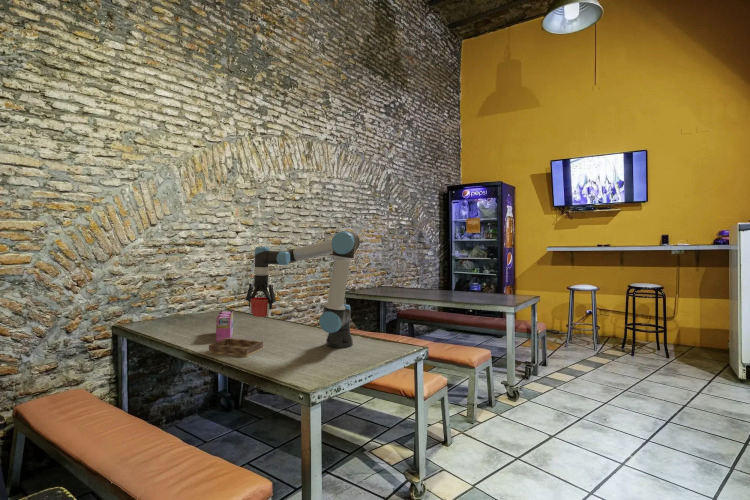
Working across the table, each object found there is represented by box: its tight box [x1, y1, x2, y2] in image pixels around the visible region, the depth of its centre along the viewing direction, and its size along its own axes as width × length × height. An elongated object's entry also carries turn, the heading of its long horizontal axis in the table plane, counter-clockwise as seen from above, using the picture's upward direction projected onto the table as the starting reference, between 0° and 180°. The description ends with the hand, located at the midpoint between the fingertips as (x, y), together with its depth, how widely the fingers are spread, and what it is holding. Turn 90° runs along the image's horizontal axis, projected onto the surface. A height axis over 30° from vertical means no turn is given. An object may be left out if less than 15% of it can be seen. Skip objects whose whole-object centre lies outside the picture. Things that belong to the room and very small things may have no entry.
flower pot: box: [251, 296, 269, 318], centre depth 233 cm, size 11×11×10 cm
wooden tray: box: [208, 337, 264, 358], centre depth 221 cm, size 22×16×4 cm
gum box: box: [215, 310, 234, 342], centre depth 251 cm, size 24×8×14 cm, turn 14°
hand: (260, 314), depth 234 cm, fingers closed on flower pot, 10 cm apart
